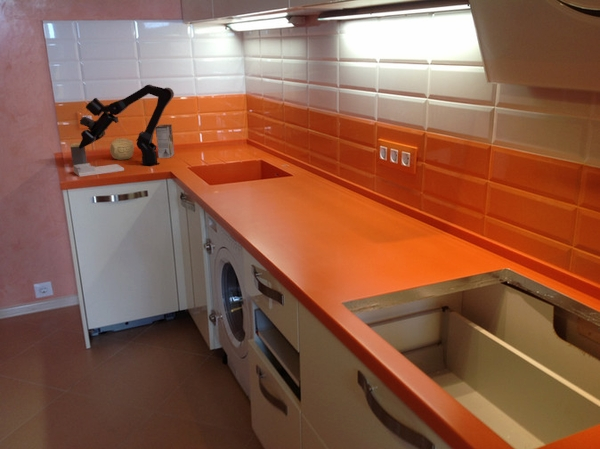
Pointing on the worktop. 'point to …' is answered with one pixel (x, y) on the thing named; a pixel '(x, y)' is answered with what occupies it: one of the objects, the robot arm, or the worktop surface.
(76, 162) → the grey tall block
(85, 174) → the notch board
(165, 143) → the coffee box
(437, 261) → the worktop surface
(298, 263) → the worktop surface
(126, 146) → the sculpture
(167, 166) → the worktop surface
